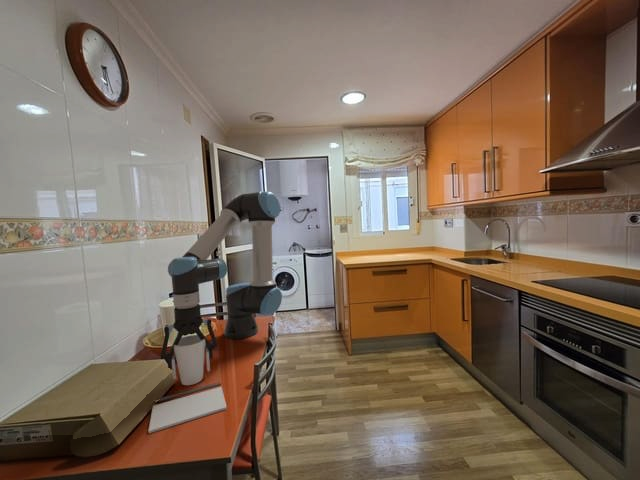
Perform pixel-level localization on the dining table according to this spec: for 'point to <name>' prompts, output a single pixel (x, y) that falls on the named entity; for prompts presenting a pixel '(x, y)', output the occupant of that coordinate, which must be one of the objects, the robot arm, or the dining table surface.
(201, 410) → the mat
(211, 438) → the dining table surface
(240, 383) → the dining table surface
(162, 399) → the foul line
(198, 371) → the foam cup
